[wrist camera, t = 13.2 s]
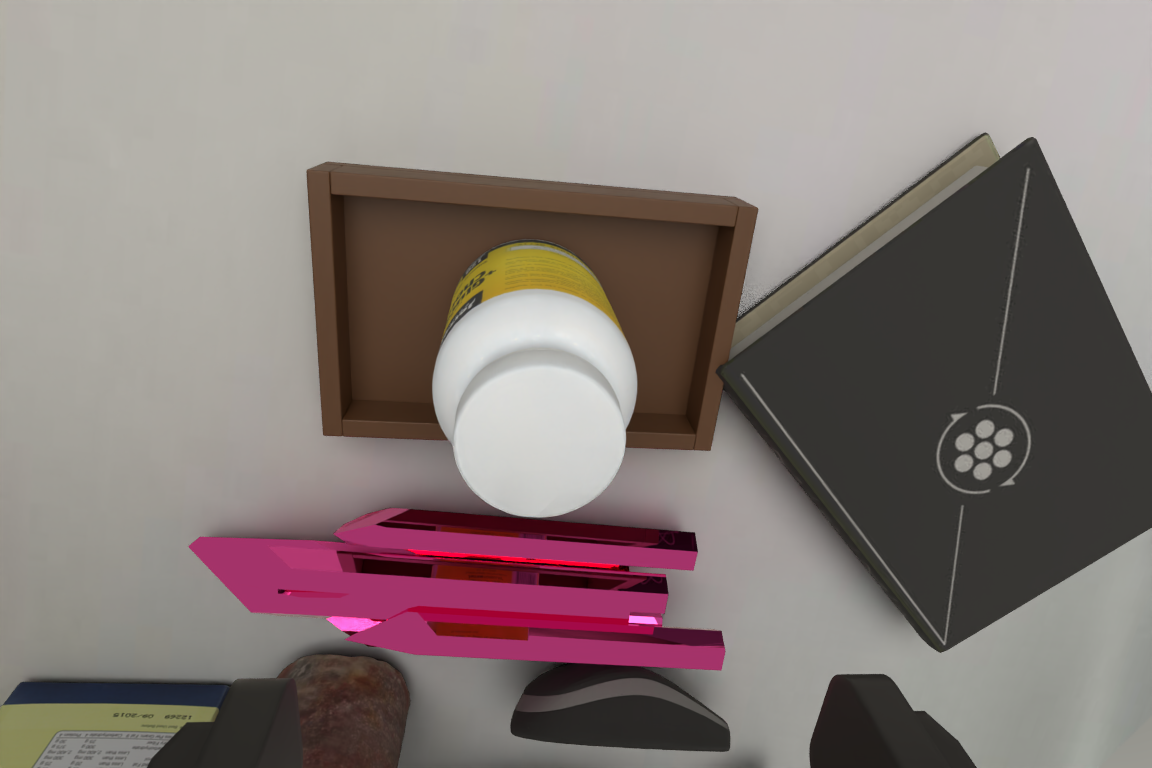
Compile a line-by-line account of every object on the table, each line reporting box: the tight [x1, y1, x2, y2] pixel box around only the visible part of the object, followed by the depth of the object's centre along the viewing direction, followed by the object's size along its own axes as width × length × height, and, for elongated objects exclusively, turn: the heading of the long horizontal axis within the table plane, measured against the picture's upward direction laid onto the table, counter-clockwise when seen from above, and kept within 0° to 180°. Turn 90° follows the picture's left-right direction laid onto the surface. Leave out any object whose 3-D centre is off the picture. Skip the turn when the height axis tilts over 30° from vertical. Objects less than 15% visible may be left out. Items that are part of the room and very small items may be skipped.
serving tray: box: [307, 162, 758, 451], centre depth 28 cm, size 17×11×3 cm, turn 85°
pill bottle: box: [432, 239, 637, 518], centre depth 23 cm, size 6×6×12 cm
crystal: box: [188, 508, 725, 670], centre depth 32 cm, size 8×6×25 cm
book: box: [715, 133, 1152, 653], centre depth 32 cm, size 22×15×3 cm
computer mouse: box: [511, 663, 730, 752], centre depth 36 cm, size 7×12×4 cm
